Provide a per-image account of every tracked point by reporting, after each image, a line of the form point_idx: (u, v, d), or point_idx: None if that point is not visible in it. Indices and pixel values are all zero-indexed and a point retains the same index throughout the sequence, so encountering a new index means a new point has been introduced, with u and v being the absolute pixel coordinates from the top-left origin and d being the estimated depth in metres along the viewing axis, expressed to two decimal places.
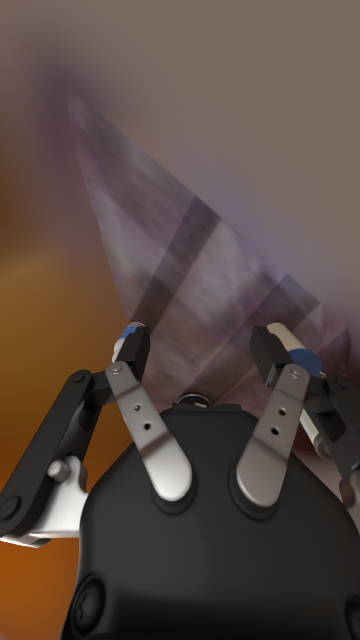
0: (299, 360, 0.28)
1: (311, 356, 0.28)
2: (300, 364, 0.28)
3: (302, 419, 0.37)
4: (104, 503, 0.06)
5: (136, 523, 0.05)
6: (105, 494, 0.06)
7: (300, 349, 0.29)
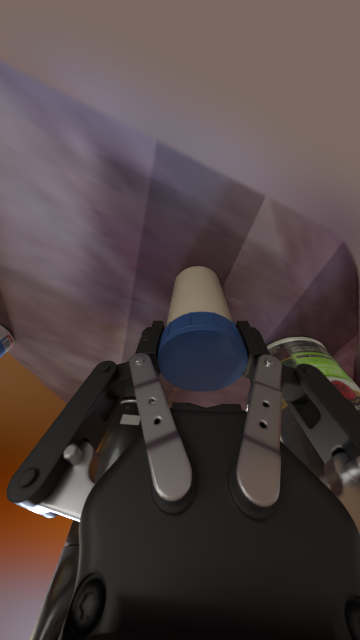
0: (178, 345, 0.11)
1: (203, 330, 0.10)
2: (188, 354, 0.11)
3: None
4: (104, 503, 0.06)
5: (131, 531, 0.05)
6: (105, 494, 0.06)
7: (187, 316, 0.11)
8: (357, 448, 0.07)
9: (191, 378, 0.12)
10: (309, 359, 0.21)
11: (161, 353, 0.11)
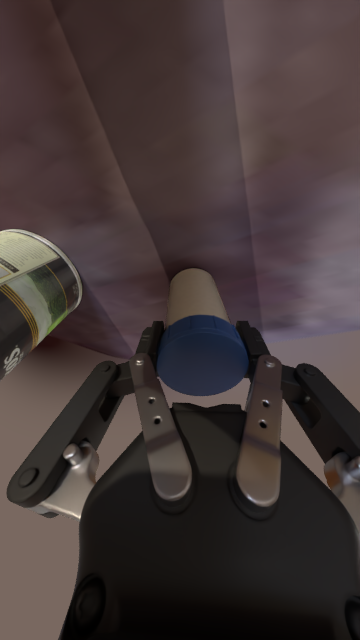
0: (178, 349, 0.11)
1: (203, 333, 0.10)
2: (188, 358, 0.11)
3: None
4: (104, 503, 0.06)
5: (131, 532, 0.05)
6: (105, 494, 0.06)
7: (186, 319, 0.11)
8: (357, 448, 0.07)
9: (191, 382, 0.12)
10: (58, 323, 0.20)
11: (161, 357, 0.11)
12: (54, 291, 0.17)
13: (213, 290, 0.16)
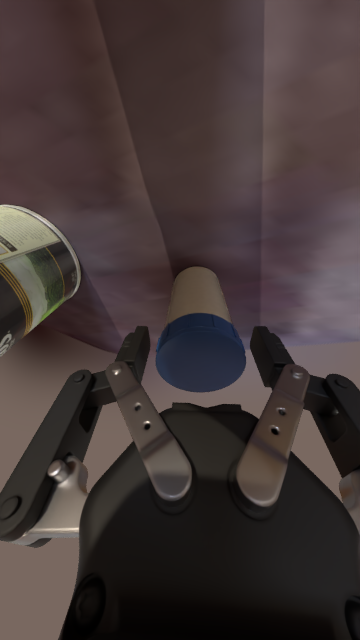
0: (176, 347, 0.11)
1: (202, 332, 0.10)
2: (187, 355, 0.11)
3: None
4: (104, 503, 0.06)
5: (136, 523, 0.05)
6: (105, 494, 0.06)
7: (185, 317, 0.11)
8: None
9: (190, 379, 0.12)
10: None
11: (160, 354, 0.11)
12: (52, 277, 0.16)
13: (218, 290, 0.16)
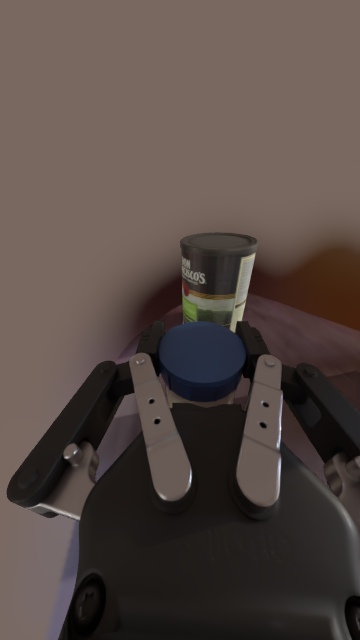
0: (222, 332, 0.13)
1: (242, 346, 0.12)
2: (213, 337, 0.13)
3: (246, 284, 0.25)
4: (104, 503, 0.06)
5: (131, 531, 0.05)
6: (105, 494, 0.06)
7: None
8: (357, 448, 0.07)
9: (180, 340, 0.13)
10: (189, 315, 0.28)
11: (211, 323, 0.14)
12: (216, 319, 0.26)
13: None
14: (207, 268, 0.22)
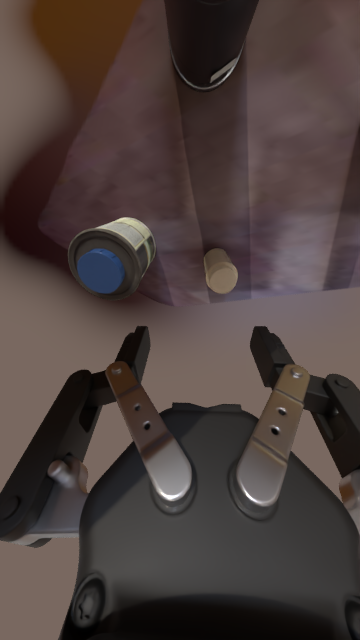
0: (84, 262, 0.23)
1: (93, 253, 0.23)
2: (91, 267, 0.24)
3: (132, 233, 0.28)
4: (104, 503, 0.06)
5: (136, 523, 0.05)
6: (105, 494, 0.06)
7: (91, 250, 0.24)
8: None
9: (97, 283, 0.25)
10: None
11: (78, 267, 0.24)
12: (151, 251, 0.34)
13: (229, 257, 0.34)
14: (142, 274, 0.29)
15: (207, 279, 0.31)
